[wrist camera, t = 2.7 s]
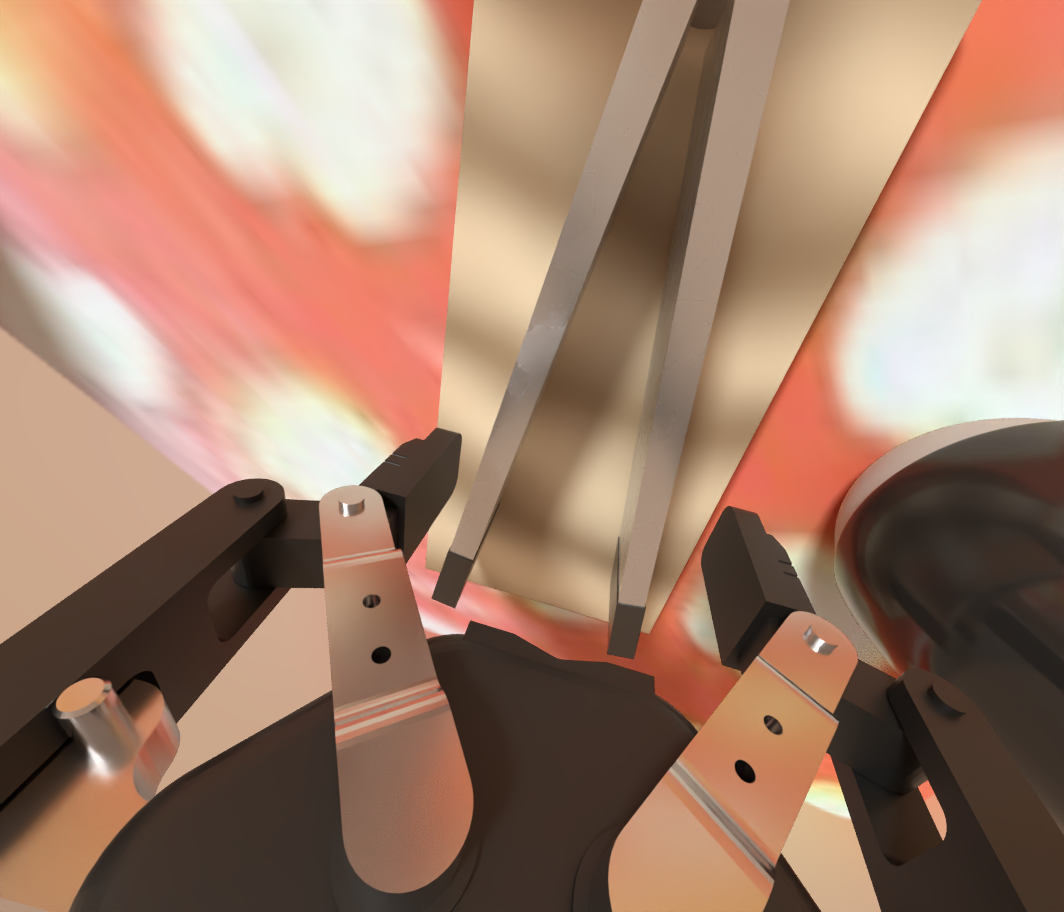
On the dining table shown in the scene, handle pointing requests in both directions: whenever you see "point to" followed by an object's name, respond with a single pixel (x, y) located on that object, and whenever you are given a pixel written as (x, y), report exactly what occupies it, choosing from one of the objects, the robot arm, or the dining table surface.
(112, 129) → the dining table surface
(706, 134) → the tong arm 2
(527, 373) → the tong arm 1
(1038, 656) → the pump dispenser
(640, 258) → the tong board
